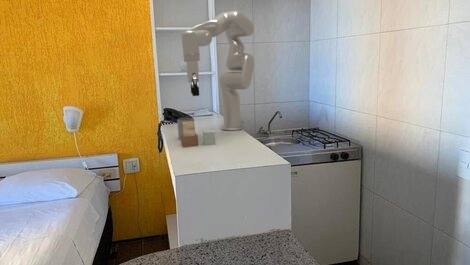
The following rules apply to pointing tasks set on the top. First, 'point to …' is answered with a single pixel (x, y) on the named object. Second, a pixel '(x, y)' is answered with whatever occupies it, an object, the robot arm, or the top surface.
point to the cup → (180, 125)
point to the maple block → (188, 128)
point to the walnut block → (189, 140)
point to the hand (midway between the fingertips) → (195, 94)
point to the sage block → (209, 137)
